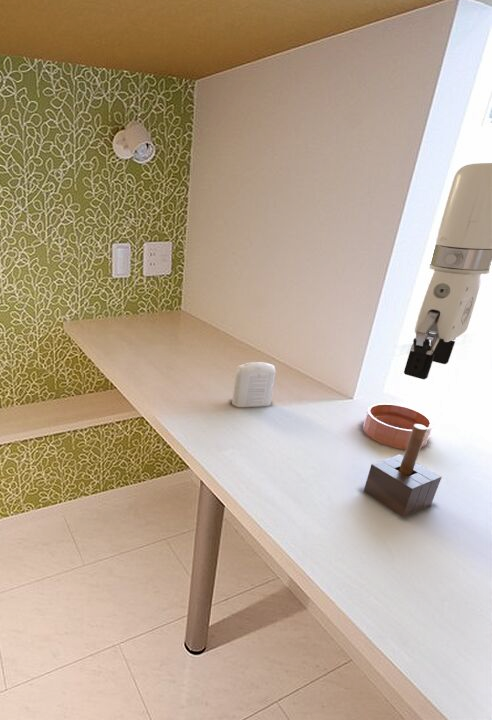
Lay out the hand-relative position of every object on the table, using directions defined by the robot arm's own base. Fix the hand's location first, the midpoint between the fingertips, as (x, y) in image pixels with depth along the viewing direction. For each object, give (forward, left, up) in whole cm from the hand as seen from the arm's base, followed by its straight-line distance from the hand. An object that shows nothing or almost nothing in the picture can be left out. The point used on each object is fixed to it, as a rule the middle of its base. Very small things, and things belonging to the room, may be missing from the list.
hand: (426, 368), depth 70 cm
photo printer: (+20, -36, -26) cm, 49 cm away
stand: (-1, +1, -26) cm, 26 cm away
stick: (-1, +1, -26) cm, 26 cm away
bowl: (-11, -23, -26) cm, 37 cm away
